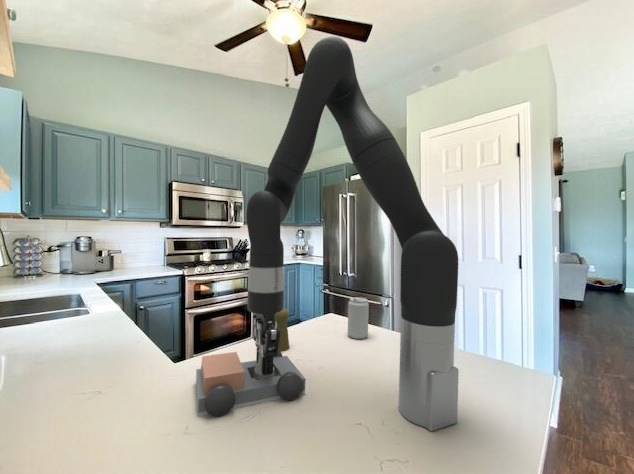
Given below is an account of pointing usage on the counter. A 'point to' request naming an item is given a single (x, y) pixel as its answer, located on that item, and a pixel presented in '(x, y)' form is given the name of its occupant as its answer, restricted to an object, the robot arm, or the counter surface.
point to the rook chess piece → (258, 368)
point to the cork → (282, 329)
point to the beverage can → (358, 318)
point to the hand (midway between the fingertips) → (264, 368)
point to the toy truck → (243, 383)
